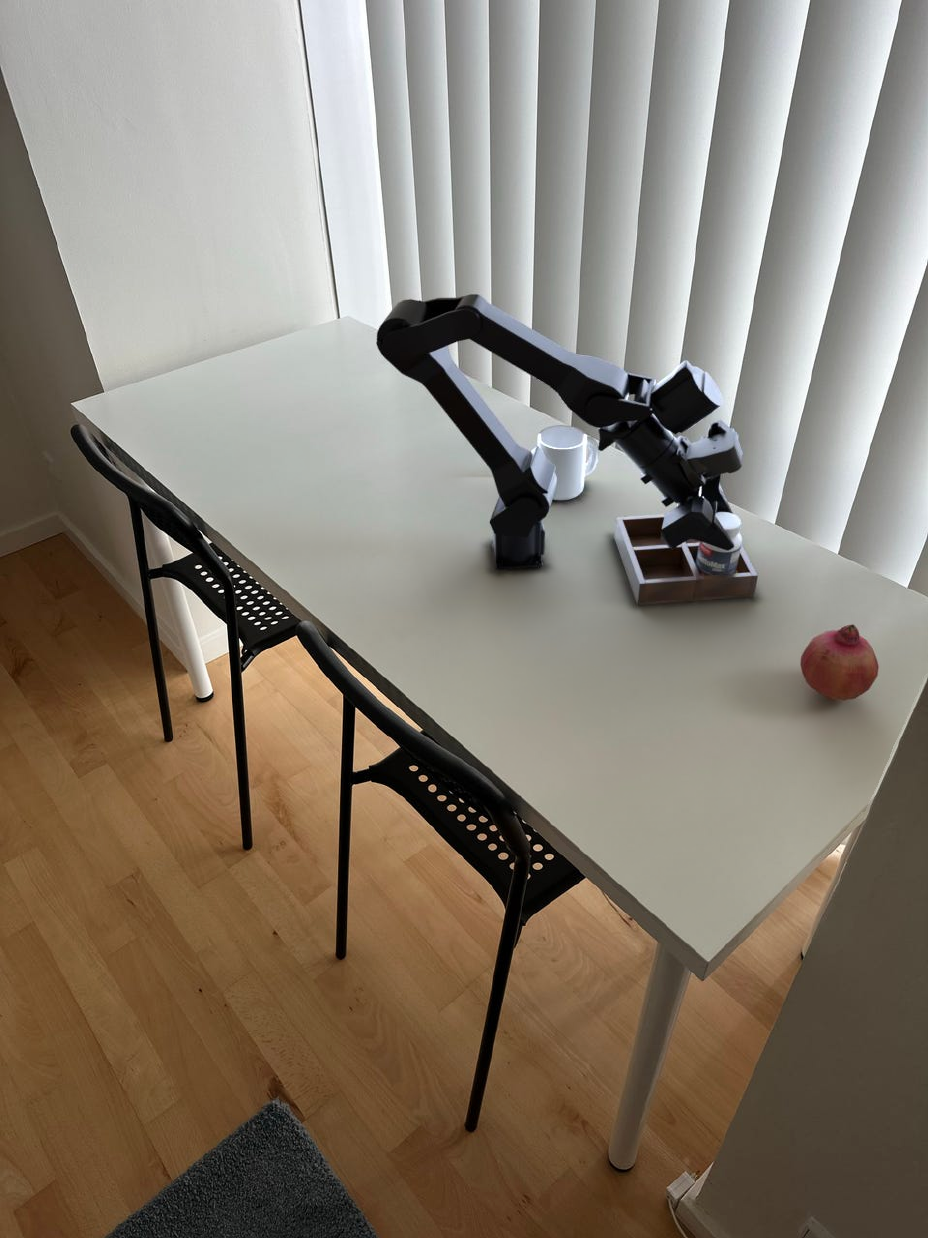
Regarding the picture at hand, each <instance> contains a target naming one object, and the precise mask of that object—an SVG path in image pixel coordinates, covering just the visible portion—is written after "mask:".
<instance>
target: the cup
mask: <svg viewBox="0 0 928 1238" xmlns="http://www.w3.org/2000/svg"><path fill="white" fill-rule="evenodd" d="M537 446H539V447H540V448H541V449H542V451H543V453H544V455H545V457H546V458H547V460H548V461H549V462H550V463H552V464H553V465H555V466H556V468H555V472H554V473H555V475H556V477H557V484H556V489H555V492H554V496H553V499H552V501H568V500H572V499H575V498H577V497H578V496H580V494H581V493H582V492H583V491H584V487H585V477H588V476H589V475H590V474H592V472H594V470H595V469H596V467H597V465H598V462H599V458H600V451H599V450H598V446H599V443H598V442H597V440H596V439H595V438H594V437H593V436H590V435H589V436H587V433H586V432H585V431H584V430H582V429H581V428H578V427H576V426H572V425H567V424H565V425H564V424H558V425H557V424H556V425H551V426H548V427H545V428H543V429H542V430H540V431H539V432H538V435H537ZM587 449H588V453H587ZM587 454H588V455H587ZM586 459H587V460H586Z"/></svg>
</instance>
